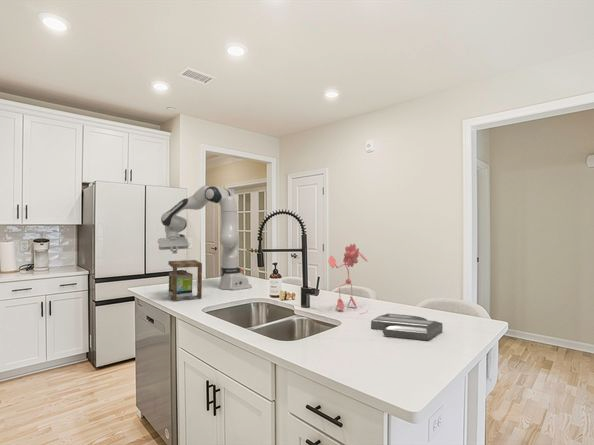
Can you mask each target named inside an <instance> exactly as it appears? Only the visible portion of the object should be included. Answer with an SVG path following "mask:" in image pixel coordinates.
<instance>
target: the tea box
mask: <svg viewBox="0 0 594 445" xmlns="http://www.w3.org/2000/svg"><path fill="white" fill-rule="evenodd" d="M193 279H194V277H193V273H191V272H187V271H177V297H184V296H193ZM172 293H173V271H169V272H168V297H170V298H171V295H172Z"/></svg>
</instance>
